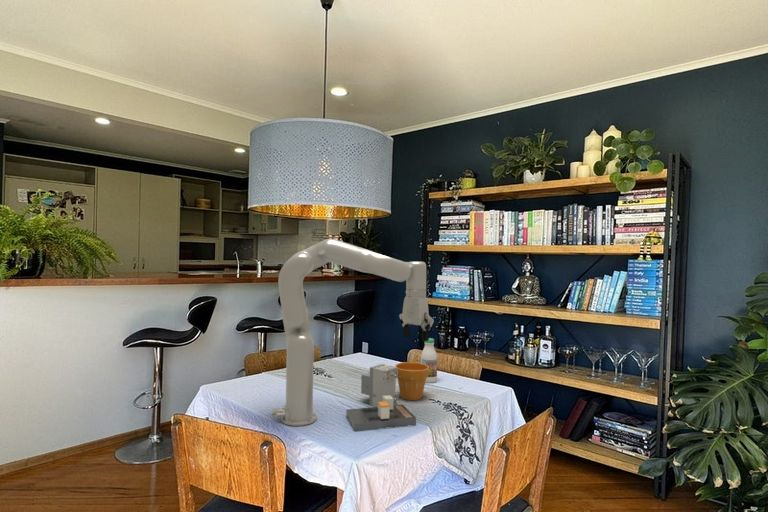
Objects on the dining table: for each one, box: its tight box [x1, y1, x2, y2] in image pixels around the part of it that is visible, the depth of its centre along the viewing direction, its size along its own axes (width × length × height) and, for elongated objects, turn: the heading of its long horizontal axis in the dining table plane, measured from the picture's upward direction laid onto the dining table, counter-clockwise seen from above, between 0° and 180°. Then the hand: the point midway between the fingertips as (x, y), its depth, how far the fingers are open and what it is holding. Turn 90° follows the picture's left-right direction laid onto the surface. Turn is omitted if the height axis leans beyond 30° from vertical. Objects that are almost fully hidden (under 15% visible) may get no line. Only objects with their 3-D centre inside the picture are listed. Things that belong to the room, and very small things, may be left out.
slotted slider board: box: [345, 404, 417, 432], centre depth 159 cm, size 22×14×3 cm, turn 107°
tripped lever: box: [378, 401, 390, 419], centre depth 156 cm, size 3×4×5 cm
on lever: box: [382, 395, 393, 410], centre depth 164 cm, size 3×4×4 cm
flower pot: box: [394, 361, 429, 401], centre depth 186 cm, size 14×14×13 cm
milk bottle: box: [420, 337, 438, 384], centre depth 210 cm, size 8×8×20 cm
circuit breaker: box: [360, 363, 398, 407], centre depth 178 cm, size 8×14×15 cm, turn 51°
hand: (415, 338), depth 168 cm, fingers open, 9 cm apart
